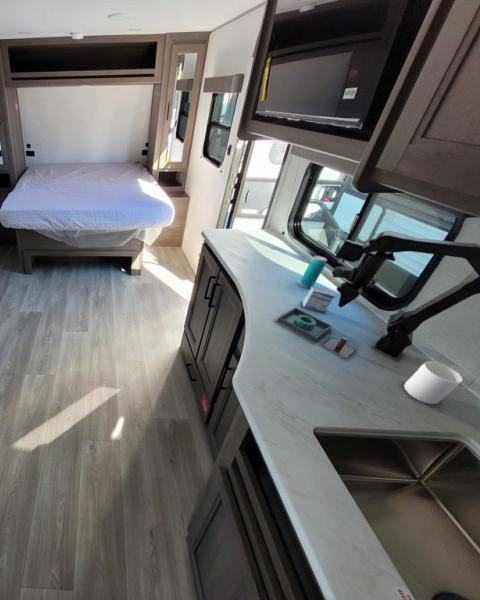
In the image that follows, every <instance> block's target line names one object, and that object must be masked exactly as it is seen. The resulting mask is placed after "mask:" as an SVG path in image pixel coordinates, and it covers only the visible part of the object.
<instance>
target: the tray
mask: <svg viewBox="0 0 480 600" xmlns="http://www.w3.org/2000/svg"><path fill="white" fill-rule="evenodd" d="M294 313H295V314H296V315H297V316H299V315H306V316H309V317H311V318H312V319H314V320H315V321H316V325H318V326H321V327H322V328H324V330H323V331H322V332H320V333H319V334H317V335H315V334H313V333H310V331H307V330H306V331H305V330H303V329H301V328H299V327H297V326H296V325H295V324H294V323H292V322H290V321H288V320H287V319H286V318H287V317H289V316H290V315H292V314H294ZM276 323H279V324H282V325H283V326H285V327H287V328H288V329H290V330H292V331H294V332H296V333H298V334H299V335H301V336H303V337H305V338H306V339H309V340H311V341H312V342H314V343H315V342H316V341H318V340H319V339H320V338H321V337H323V336H324V335H326V334H327V333H328V332H329V331H330V330H331V329H332V328H333V325H331V324H329V323H327V322H325V321H323V320H321V319H319V318H317V317H315V316H313V315H311V314H310V313H307V312H306V311H303V310H302V309H299V308H297V307H294V308H292V309H291V310H289V311H286V312H285V313H284V314H282V315H281V316H278V319H277V321H276Z"/></svg>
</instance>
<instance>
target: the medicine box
mask: <svg viewBox="0 0 480 600" xmlns="http://www.w3.org/2000/svg"><path fill="white" fill-rule="evenodd" d="M334 298H335V294H334V292H333V291H330V290H326V289H321V288H318V287H314V286H312V287H311V288H309V291H308V292H307V294H306V296H305V298H304V299H303V301H302V305H303V307H304V308H307V309H311V310H315V311H319V312H323V313H325V312H326V311H327V309H328V308H329V306H330V304H331V303H332V301H333V300H334Z"/></svg>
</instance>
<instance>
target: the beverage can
mask: <svg viewBox="0 0 480 600" xmlns="http://www.w3.org/2000/svg"><path fill="white" fill-rule="evenodd" d="M327 261H328V259H327V258H326V257H324V256H322V255H314V256H313V257H312V259H311V260H310V262H309V264H308V265H307V267H306V269H305V271H304V272H303V275H302V276H301V279H300V281H299V285H300V286H301V287H302V288H305V289H311V287H314V286H315V284H316V282H317V280H318V279H319V277H320V275H321V273H322V272H323V271H324V269H325V267H326V265H327Z"/></svg>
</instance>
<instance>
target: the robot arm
mask: <svg viewBox="0 0 480 600" xmlns="http://www.w3.org/2000/svg"><path fill="white" fill-rule="evenodd" d="M405 252H413V253H421V254H427V255H434V256H435V255H436V256H445V257H450V258H451V257H453V258H460V259H464V260H466V261H467V262H468V264H469V265H470V266H471V268H472V269H473V270H472V271H471V272H470V273H468V275H467V276H466V277H465V278H464V279H463V280H462V281H461V282H459V283H458V284H457V285H454V286H453V287H451V288H449V289H447V290H446V291H444V292H442V293H441V294H438V295H437V296H435V297H433V298H431V299H430V300H428V301H426V302H425V303H423V304H421V305H419V306H418V307H415V309H412V310H409V311H405V310H404V309H403V308H401V309H399V310H398V311H397V312H396V313H393V314H390V315H389V318H388V321H387V325H386V332H387V334H383V335H381V337H380V338H379V339H378V340H377V342H376V343H375V347H374V348H375V349H376V350H378V351H380V352H382V353H383V354H386V355H388V356H390V357H392V358H394V359H398V358H399V357H400V355H401V354H402V353H403V352H404V350H405V349H406V348H408V347H410V346H412V345H413V340H414V339H413V337H414V336H413V335H414V332H415V331H416V330H417V329H418V328H419V327H420V326H421V325H423V323H424V322H426V321H428V320H429V319H431V318H434V317H435V316H437V315H439V314H440V313H443V312H444V311H446V310H448V309H450V308H452V307H454V306H456V305H457V304H459V303H461V302H463V301H465V300H467V299H469V298H471V297H473V296H475V295H478V294H479V295H480V244H479V243H477V242H462V241H461V242H460V241H449V240H440V239H430V238H424V237H423V238H422V237H415V236H411V235H408V234H405V233H402V232H397V231H394V230H384V231H382V232H380V233H379V234H377V235H376V236H375V237H374V238H373V239H370V240H368V241H366V242H364V244H363V243H359V242H356V241H352V240H350V239H345V240H344V242H343V244H342V245H341V246H340V248H339V249H338V251H337V253H336V254H335V256H334V258H336V259H339V260H343V261H346V262H350V263H354V262H355V263H357V262H359V261H360V260H361V261H360V262H359V264H358V265H357V266H356V267H352V266H341V265H340V266H336V267H334V268H333V270H332V271H331V274H332V278H335V279H336V278H341V279H342V278H343V279H345V281H343V282H342V283H339V284H338V285H337V287H336V291H337V293H339V294H340V295H339V301H338V307H339V308H343V307H345V306H346V305H348V304H350V303H351V302H352V301H354V300H356V299H357V298H358V297H360V296H361V295H363V294H364V293H365V292H367V291H368V290H370V289H371V288H373V286H374V285H376V284H377V282H378V281H379V279H378V277H377V275H379V273H380V270H381V269H382V267H384V264H386V261H391V262H396V259H397V256H396V254H395V253H405ZM364 254H365V255H364ZM363 255H364V256H363ZM362 257H363V258H362ZM361 258H362V259H361Z"/></svg>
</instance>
